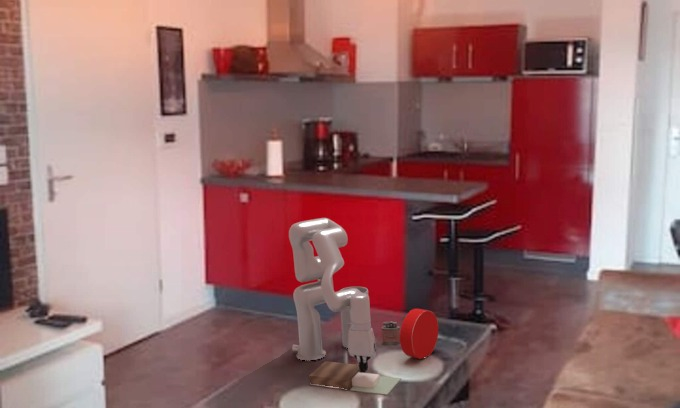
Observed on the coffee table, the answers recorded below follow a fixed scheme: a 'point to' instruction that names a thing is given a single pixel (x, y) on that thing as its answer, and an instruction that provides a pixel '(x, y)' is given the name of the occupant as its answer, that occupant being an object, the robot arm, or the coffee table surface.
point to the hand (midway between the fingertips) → (363, 371)
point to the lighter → (391, 333)
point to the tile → (365, 380)
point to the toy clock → (419, 333)
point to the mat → (379, 386)
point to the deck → (334, 374)
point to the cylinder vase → (348, 318)
